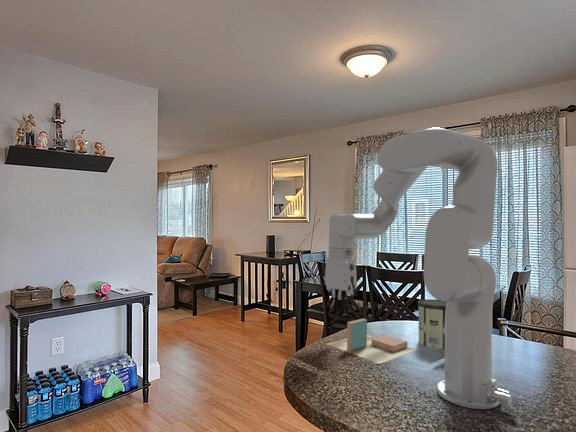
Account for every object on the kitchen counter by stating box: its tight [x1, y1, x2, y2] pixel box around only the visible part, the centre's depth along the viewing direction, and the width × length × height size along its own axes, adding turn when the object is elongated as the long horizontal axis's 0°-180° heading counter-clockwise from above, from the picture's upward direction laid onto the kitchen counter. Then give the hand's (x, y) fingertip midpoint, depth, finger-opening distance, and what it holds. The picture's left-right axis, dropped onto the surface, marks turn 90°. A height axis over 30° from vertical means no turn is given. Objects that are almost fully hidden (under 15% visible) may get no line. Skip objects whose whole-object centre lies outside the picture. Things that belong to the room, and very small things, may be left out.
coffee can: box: [417, 298, 447, 350], centre depth 116 cm, size 10×10×14 cm
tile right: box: [371, 334, 408, 352], centre depth 112 cm, size 2×7×8 cm
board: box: [326, 334, 417, 365], centre depth 111 cm, size 20×18×1 cm
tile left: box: [346, 318, 368, 351], centre depth 111 cm, size 2×7×8 cm, turn 128°
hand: (339, 311), depth 117 cm, fingers closed
